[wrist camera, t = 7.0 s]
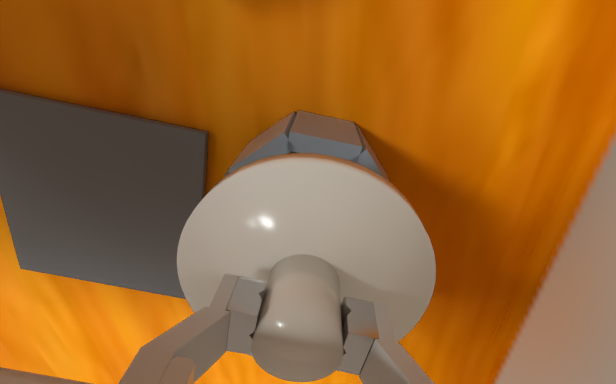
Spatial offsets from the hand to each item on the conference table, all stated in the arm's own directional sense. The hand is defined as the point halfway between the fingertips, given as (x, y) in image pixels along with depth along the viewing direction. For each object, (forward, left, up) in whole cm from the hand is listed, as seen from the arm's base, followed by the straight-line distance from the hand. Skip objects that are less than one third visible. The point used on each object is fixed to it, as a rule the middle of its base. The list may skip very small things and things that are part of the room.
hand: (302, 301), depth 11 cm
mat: (-14, -5, -11) cm, 18 cm away
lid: (0, 0, -2) cm, 2 cm away
